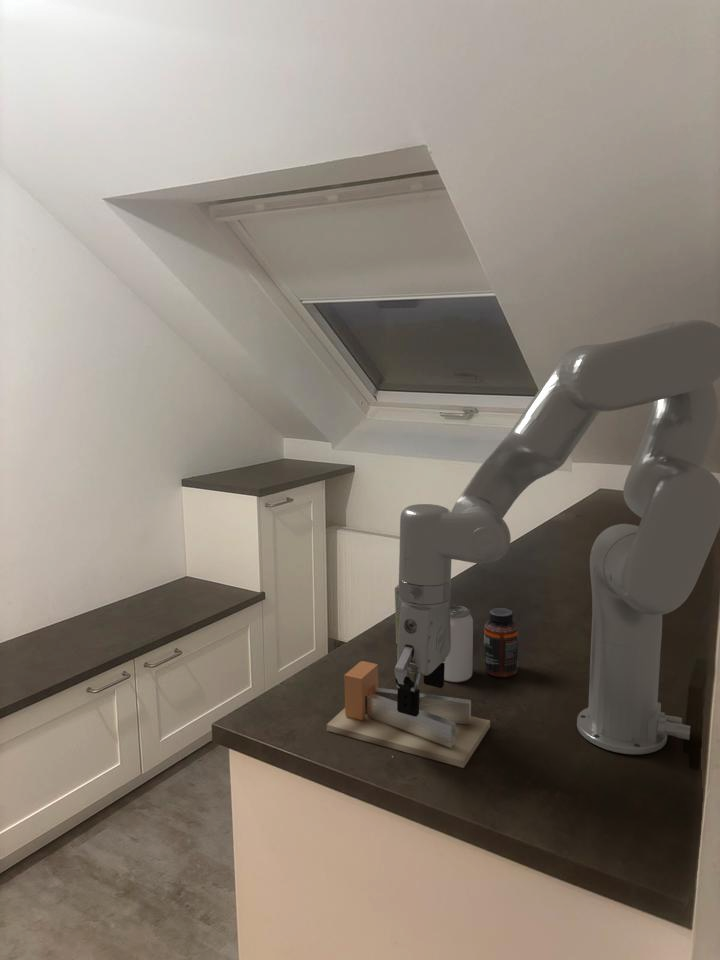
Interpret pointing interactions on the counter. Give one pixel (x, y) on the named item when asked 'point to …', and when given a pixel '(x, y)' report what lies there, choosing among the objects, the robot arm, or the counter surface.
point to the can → (460, 646)
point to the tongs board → (413, 737)
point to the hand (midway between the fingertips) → (421, 699)
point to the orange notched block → (359, 688)
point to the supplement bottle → (501, 644)
